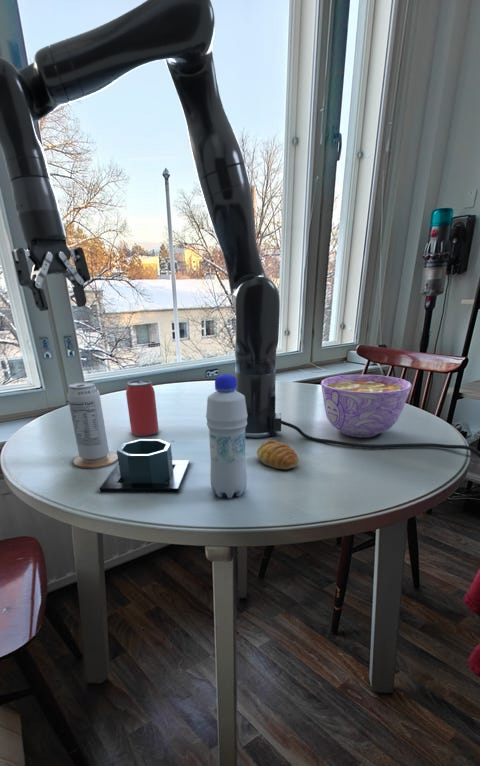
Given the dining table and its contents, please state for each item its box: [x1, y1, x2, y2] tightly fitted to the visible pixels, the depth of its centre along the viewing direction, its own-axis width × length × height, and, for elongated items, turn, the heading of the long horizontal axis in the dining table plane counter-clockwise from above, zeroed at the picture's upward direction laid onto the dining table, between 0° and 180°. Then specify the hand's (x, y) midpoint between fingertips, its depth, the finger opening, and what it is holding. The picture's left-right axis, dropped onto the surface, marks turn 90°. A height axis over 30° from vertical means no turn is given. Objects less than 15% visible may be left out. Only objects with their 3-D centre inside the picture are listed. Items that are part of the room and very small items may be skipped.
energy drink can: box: [66, 381, 110, 463], centre depth 92 cm, size 6×6×15 cm
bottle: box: [205, 373, 248, 499], centre depth 75 cm, size 7×7×20 cm
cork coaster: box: [73, 451, 118, 469], centre depth 95 cm, size 9×9×1 cm
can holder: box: [99, 438, 190, 494], centre depth 85 cm, size 14×14×6 cm
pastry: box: [256, 439, 300, 470], centre depth 91 cm, size 9×7×4 cm
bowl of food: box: [320, 374, 413, 438], centre depth 106 cm, size 20×20×12 cm
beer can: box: [125, 379, 160, 437], centre depth 109 cm, size 7×7×12 cm
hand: (63, 308), depth 91 cm, fingers open, 8 cm apart
